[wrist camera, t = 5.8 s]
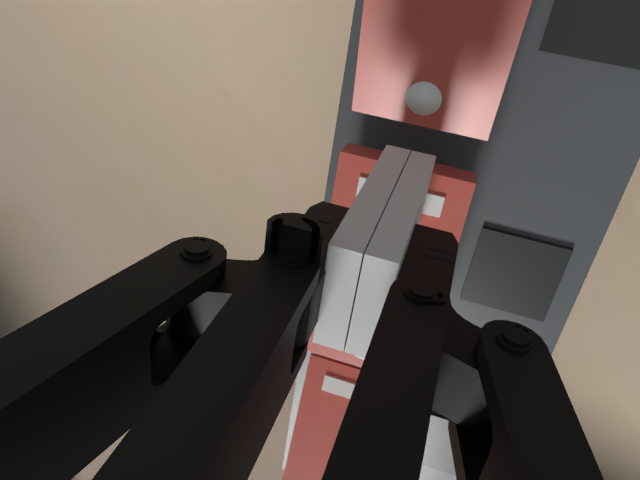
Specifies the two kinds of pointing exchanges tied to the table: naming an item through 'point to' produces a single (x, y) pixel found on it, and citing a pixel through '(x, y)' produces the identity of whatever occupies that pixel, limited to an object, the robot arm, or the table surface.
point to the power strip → (526, 173)
